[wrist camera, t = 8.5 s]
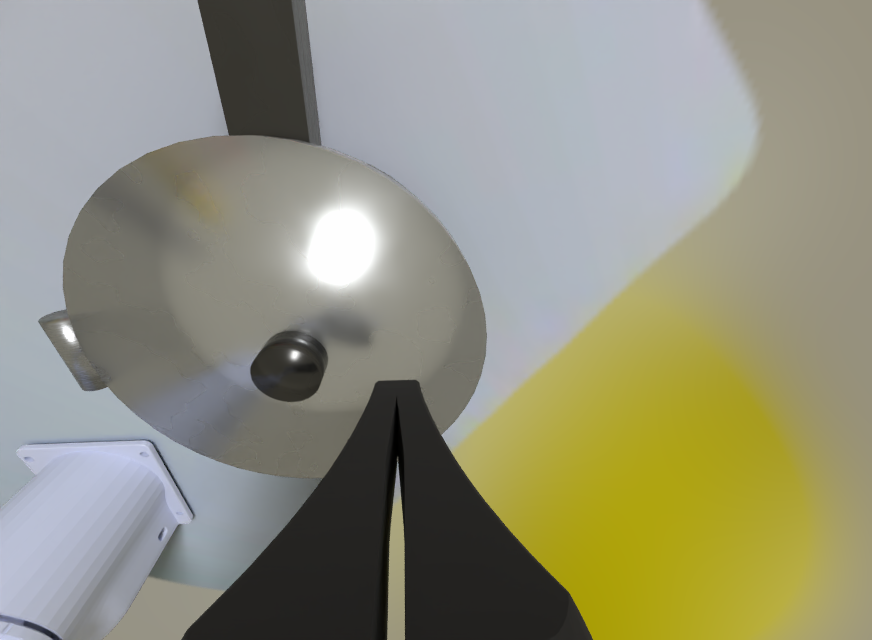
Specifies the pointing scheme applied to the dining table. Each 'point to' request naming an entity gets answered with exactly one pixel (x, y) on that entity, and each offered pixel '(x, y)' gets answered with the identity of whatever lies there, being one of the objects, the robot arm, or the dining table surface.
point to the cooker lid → (264, 299)
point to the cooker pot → (263, 67)
